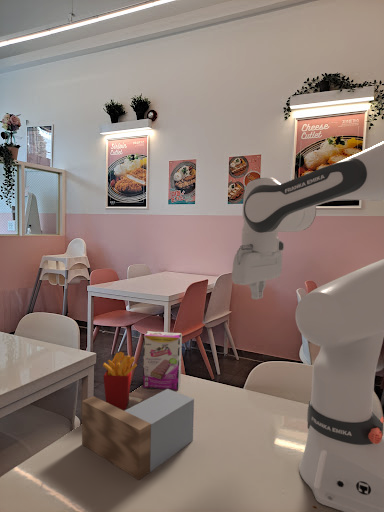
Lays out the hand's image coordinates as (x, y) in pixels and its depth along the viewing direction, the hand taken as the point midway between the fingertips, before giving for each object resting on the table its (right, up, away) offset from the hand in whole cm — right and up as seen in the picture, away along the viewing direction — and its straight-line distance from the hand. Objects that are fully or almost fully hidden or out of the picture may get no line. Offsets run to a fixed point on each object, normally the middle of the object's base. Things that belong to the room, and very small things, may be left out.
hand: (257, 298), depth 92 cm
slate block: (-24, -32, -12) cm, 41 cm away
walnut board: (-33, -32, -16) cm, 48 cm away
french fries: (-35, -30, +6) cm, 47 cm away
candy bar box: (-26, -29, +19) cm, 43 cm away
